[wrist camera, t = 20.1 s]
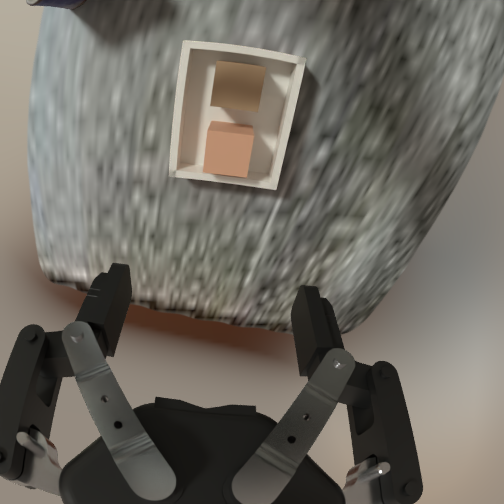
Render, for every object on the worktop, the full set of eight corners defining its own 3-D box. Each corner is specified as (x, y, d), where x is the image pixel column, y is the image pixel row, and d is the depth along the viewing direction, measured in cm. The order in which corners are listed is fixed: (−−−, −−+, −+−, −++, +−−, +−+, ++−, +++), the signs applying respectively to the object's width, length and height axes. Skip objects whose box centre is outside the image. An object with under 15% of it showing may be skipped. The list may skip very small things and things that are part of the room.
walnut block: (219, 60, 27) (216, 60, 23) (262, 65, 27) (266, 67, 23) (213, 99, 29) (210, 106, 26) (255, 104, 30) (257, 112, 26)
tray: (189, 41, 26) (183, 40, 23) (300, 58, 27) (306, 58, 25) (174, 165, 35) (168, 176, 32) (273, 177, 36) (276, 190, 33)
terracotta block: (207, 157, 33) (202, 172, 30) (211, 120, 31) (207, 130, 27) (246, 162, 34) (246, 177, 30) (252, 125, 31) (254, 135, 28)
